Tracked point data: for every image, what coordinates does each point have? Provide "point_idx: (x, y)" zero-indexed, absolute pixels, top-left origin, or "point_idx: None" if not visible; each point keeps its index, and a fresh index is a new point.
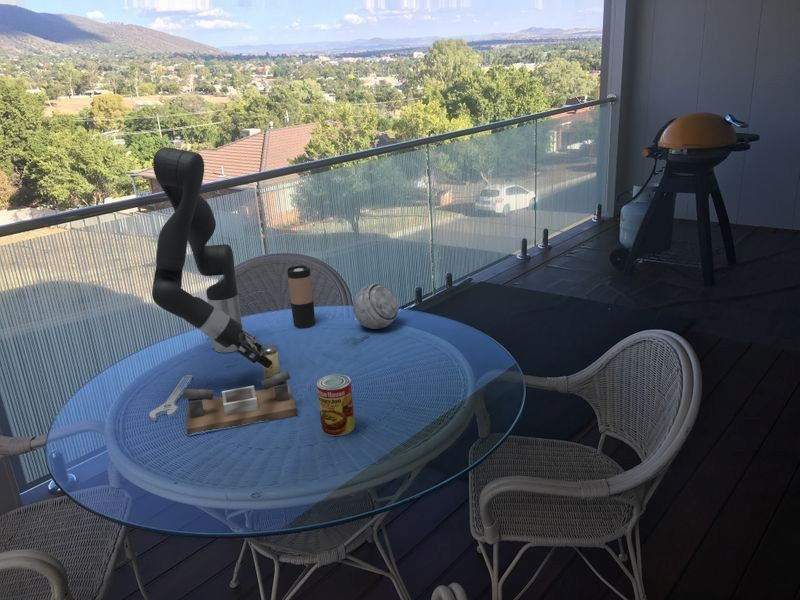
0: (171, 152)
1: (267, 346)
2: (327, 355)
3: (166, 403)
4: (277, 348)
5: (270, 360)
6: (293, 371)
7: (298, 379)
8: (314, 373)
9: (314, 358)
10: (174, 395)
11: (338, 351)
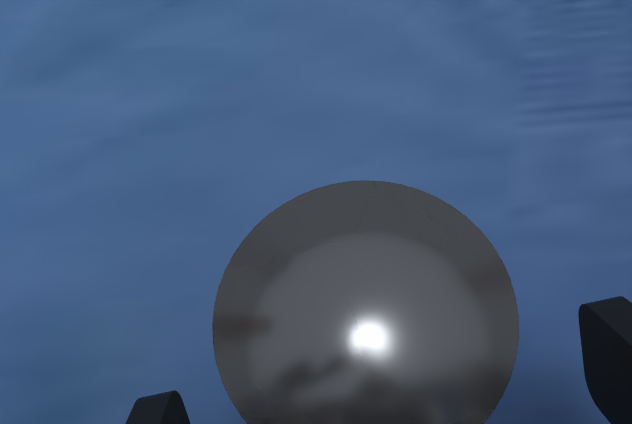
0: None
1: (288, 343)
2: (69, 56)
3: None
4: (362, 193)
5: (618, 309)
6: None
7: None
8: (341, 104)
9: (80, 125)
10: None
11: (39, 7)
